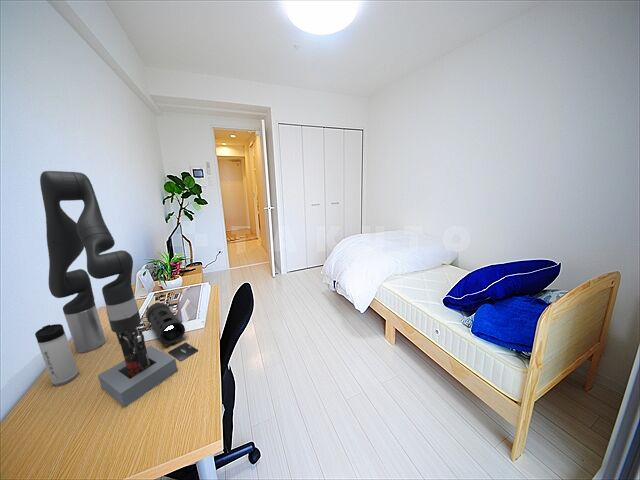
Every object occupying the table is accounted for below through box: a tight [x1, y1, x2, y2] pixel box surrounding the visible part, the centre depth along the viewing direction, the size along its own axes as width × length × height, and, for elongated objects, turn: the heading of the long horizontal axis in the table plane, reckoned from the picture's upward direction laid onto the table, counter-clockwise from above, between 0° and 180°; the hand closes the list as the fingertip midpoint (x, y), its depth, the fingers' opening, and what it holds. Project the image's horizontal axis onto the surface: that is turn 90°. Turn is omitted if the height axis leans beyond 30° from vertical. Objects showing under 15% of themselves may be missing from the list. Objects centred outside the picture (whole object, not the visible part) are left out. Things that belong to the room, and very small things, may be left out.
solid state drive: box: [167, 342, 199, 362], centre depth 94 cm, size 7×10×1 cm
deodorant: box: [118, 330, 150, 379], centre depth 80 cm, size 6×6×15 cm
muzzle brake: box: [145, 302, 186, 345], centre depth 108 cm, size 10×28×10 cm, turn 46°
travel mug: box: [34, 323, 79, 387], centre depth 81 cm, size 6×7×20 cm
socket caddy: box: [97, 345, 179, 408], centre depth 81 cm, size 16×16×5 cm
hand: (135, 358), depth 80 cm, fingers closed on deodorant, 6 cm apart
